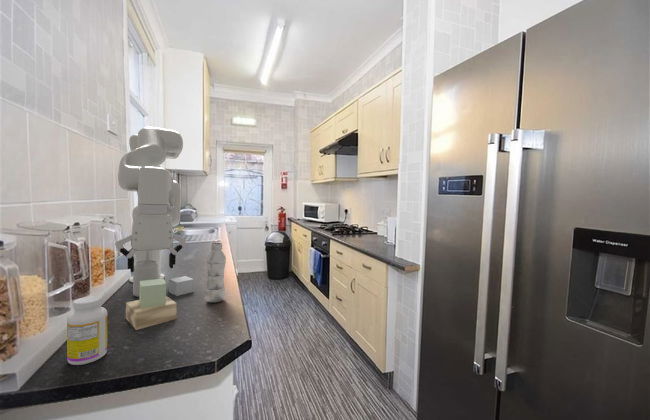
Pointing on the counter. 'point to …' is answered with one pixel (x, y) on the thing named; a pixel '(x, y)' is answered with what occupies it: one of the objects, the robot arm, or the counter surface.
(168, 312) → the beech block
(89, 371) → the counter surface
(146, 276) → the can
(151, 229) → the robot arm
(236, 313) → the counter surface
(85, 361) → the supplement bottle
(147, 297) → the sage-green block
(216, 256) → the plastic bottle
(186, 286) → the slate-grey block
